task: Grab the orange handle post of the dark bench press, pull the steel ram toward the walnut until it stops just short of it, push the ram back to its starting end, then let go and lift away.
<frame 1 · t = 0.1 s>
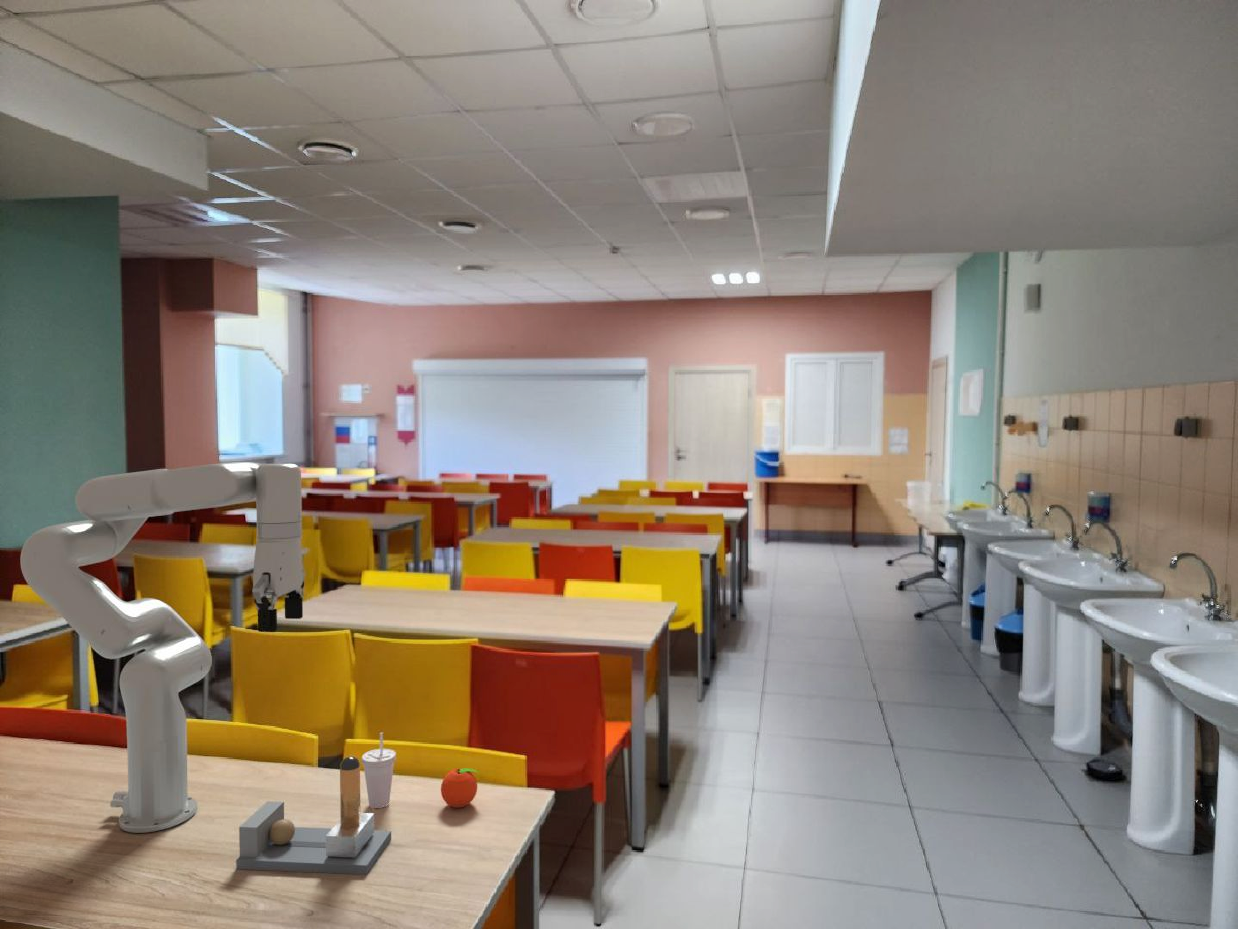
hand: (281, 624, 141), 37 cm above the table, tool pointing down, fingers open, 9 cm apart
smoothie: (379, 805, 150), on the table
clementine: (461, 806, 150), on the table
ram: (350, 800, 131), point 9 cm above the table, slide at 0.0 cm
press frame: (316, 853, 132), on the table
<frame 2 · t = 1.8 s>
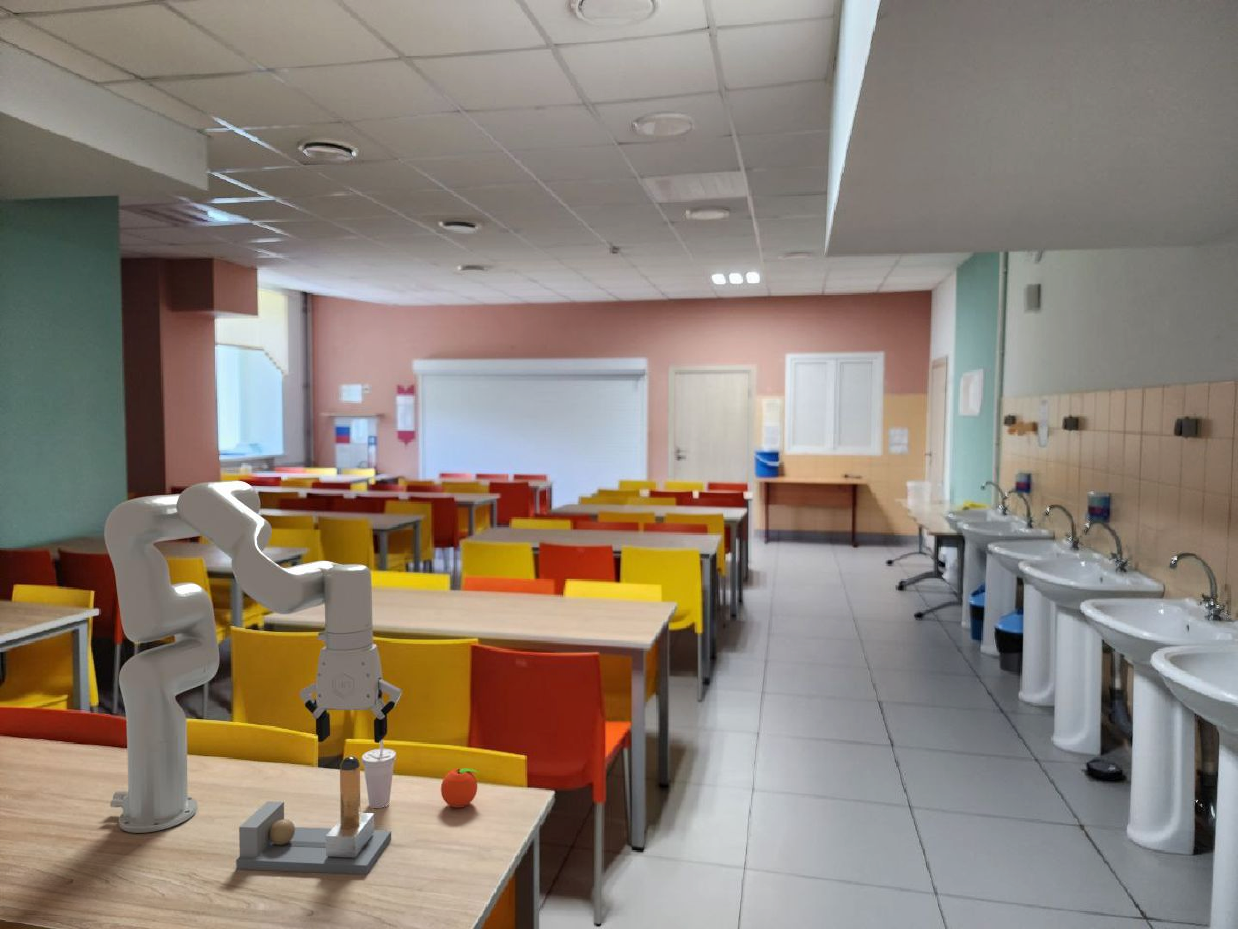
hand: (351, 739, 131), 20 cm above the table, tool pointing down, fingers open, 9 cm apart
nothing on the table moved.
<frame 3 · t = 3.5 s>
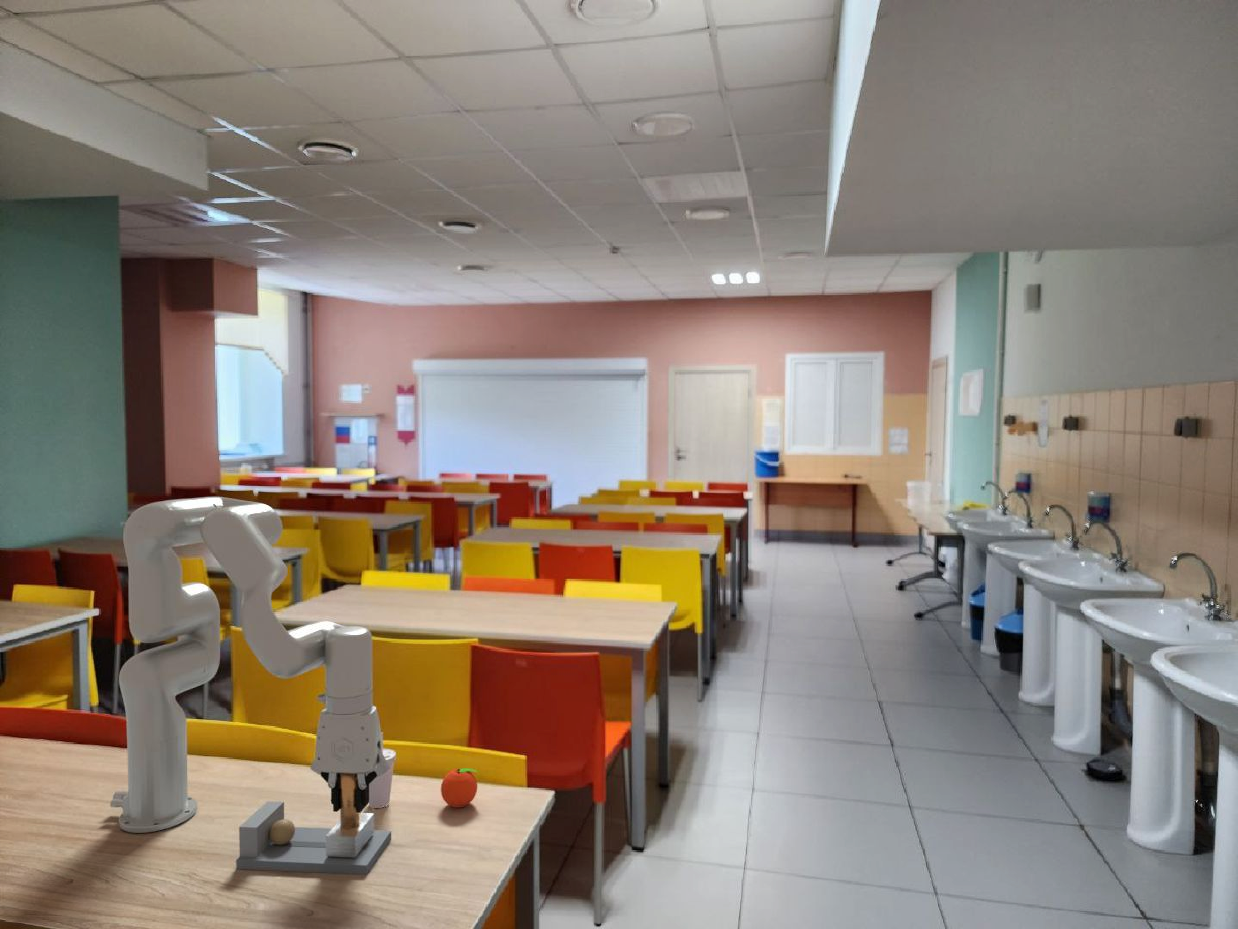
hand: (350, 807, 131), 8 cm above the table, tool pointing down, fingers closed on ram, 3 cm apart
ram: (350, 800, 131), point 9 cm above the table, slide at 0.0 cm, touching gripper
everything else where it was.
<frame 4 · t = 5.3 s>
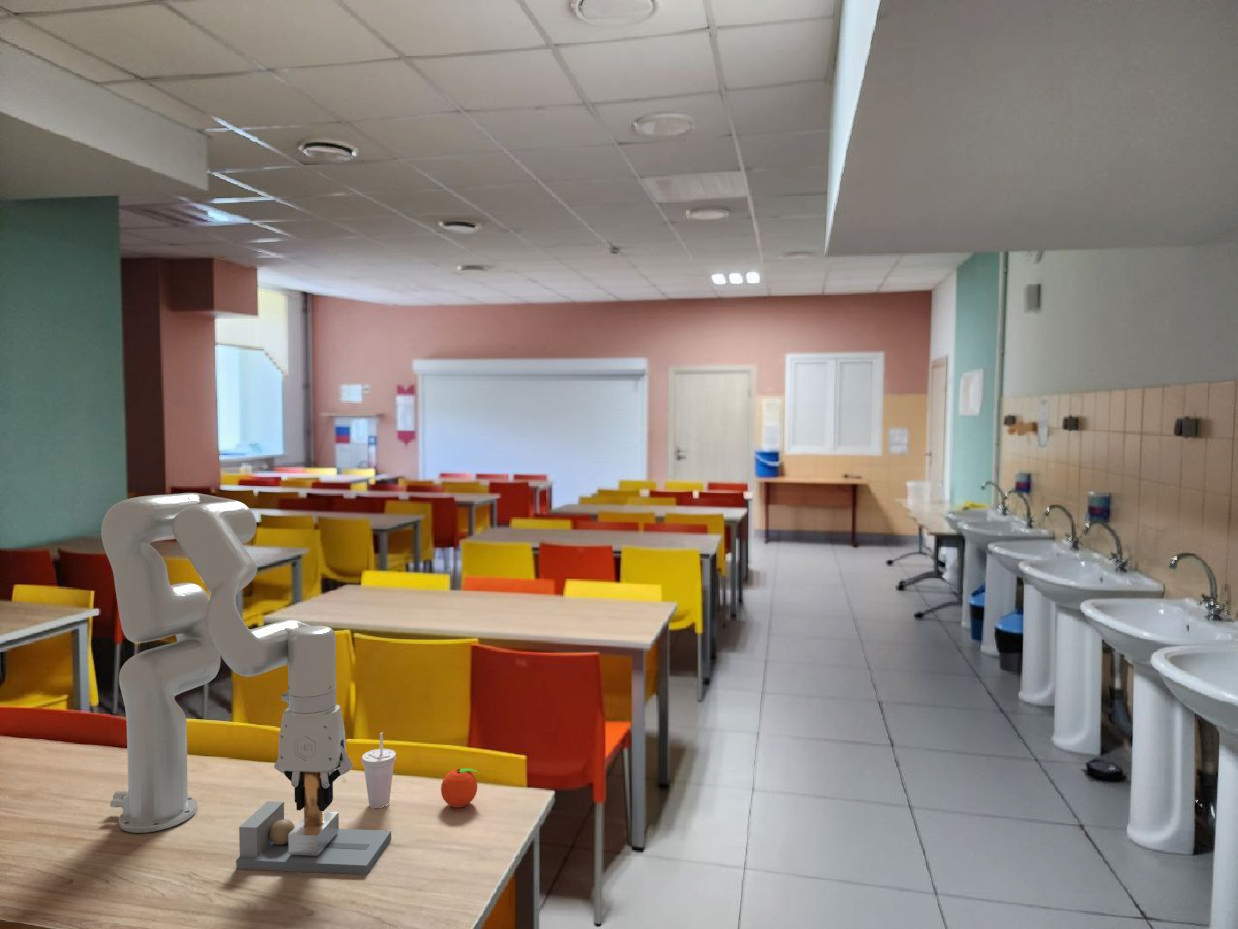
hand: (314, 806, 132), 8 cm above the table, tool pointing down, fingers closed on ram, 3 cm apart
ram: (313, 799, 132), point 9 cm above the table, slide at 6.4 cm, touching gripper
everything else where it was.
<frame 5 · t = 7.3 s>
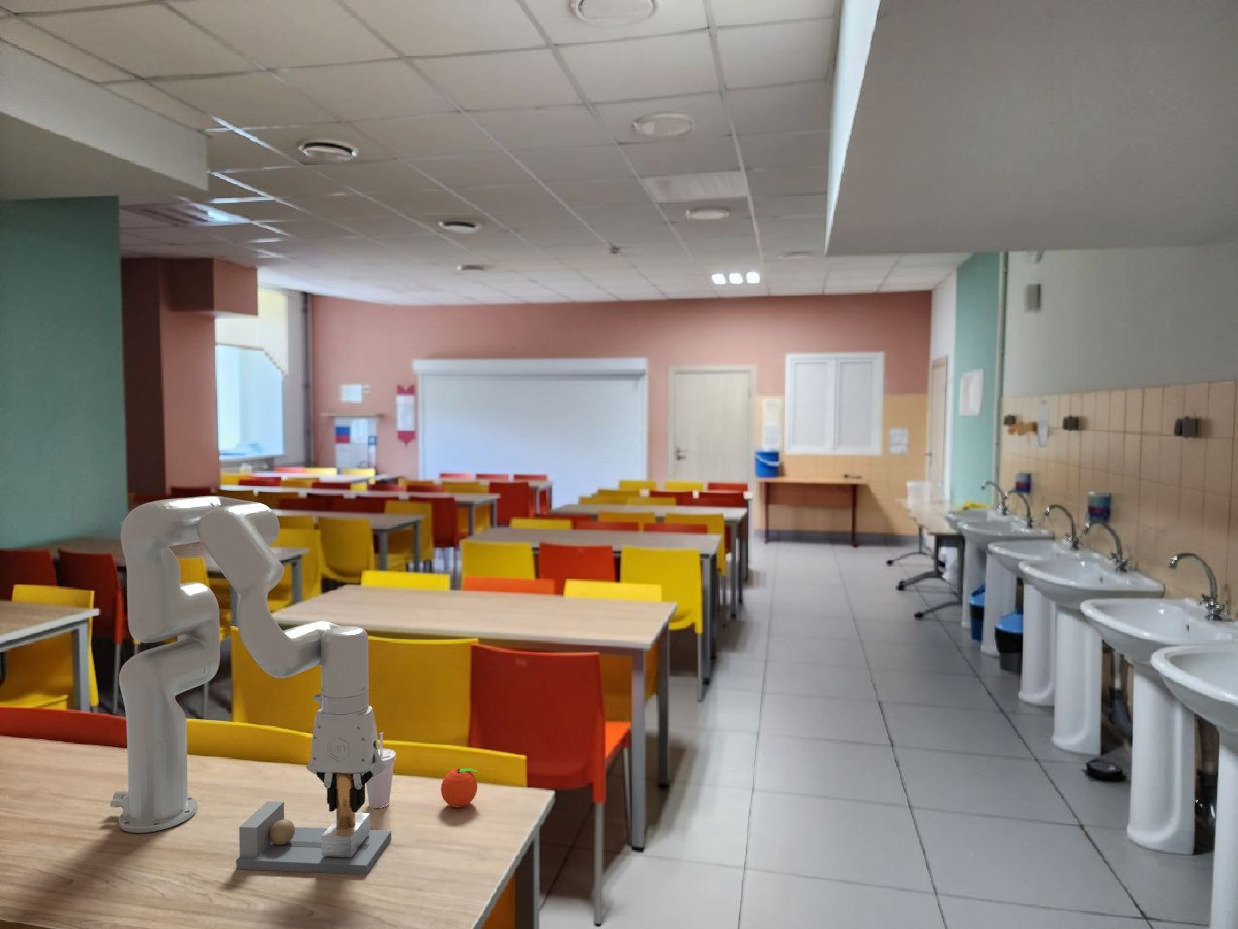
hand: (346, 807, 131), 8 cm above the table, tool pointing down, fingers closed on ram, 3 cm apart
ram: (346, 800, 131), point 9 cm above the table, slide at 0.7 cm, touching gripper
everything else where it was.
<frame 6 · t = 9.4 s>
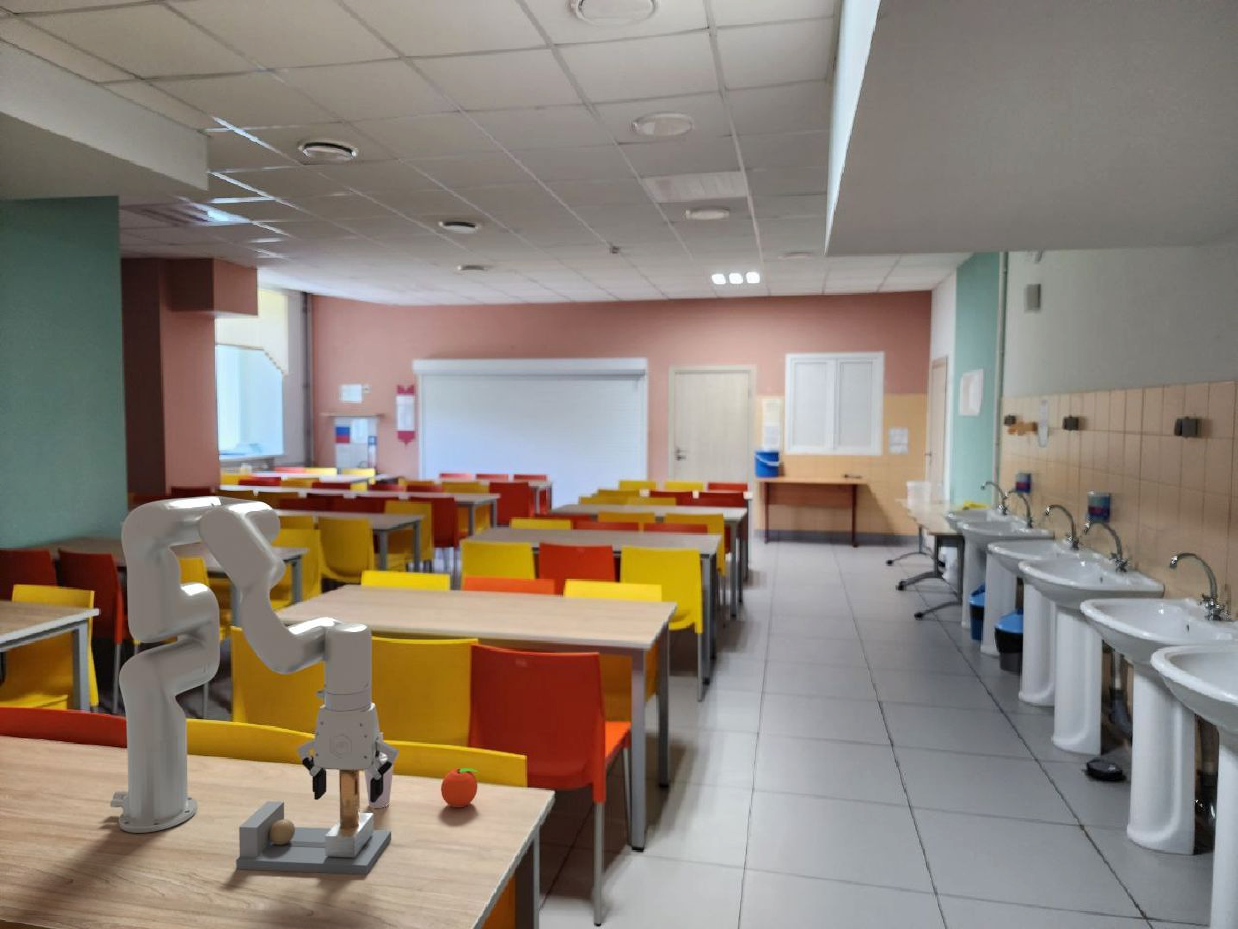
hand: (348, 797, 131), 10 cm above the table, tool pointing down, fingers open, 9 cm apart
ram: (349, 800, 131), point 9 cm above the table, slide at 0.1 cm
everything else where it was.
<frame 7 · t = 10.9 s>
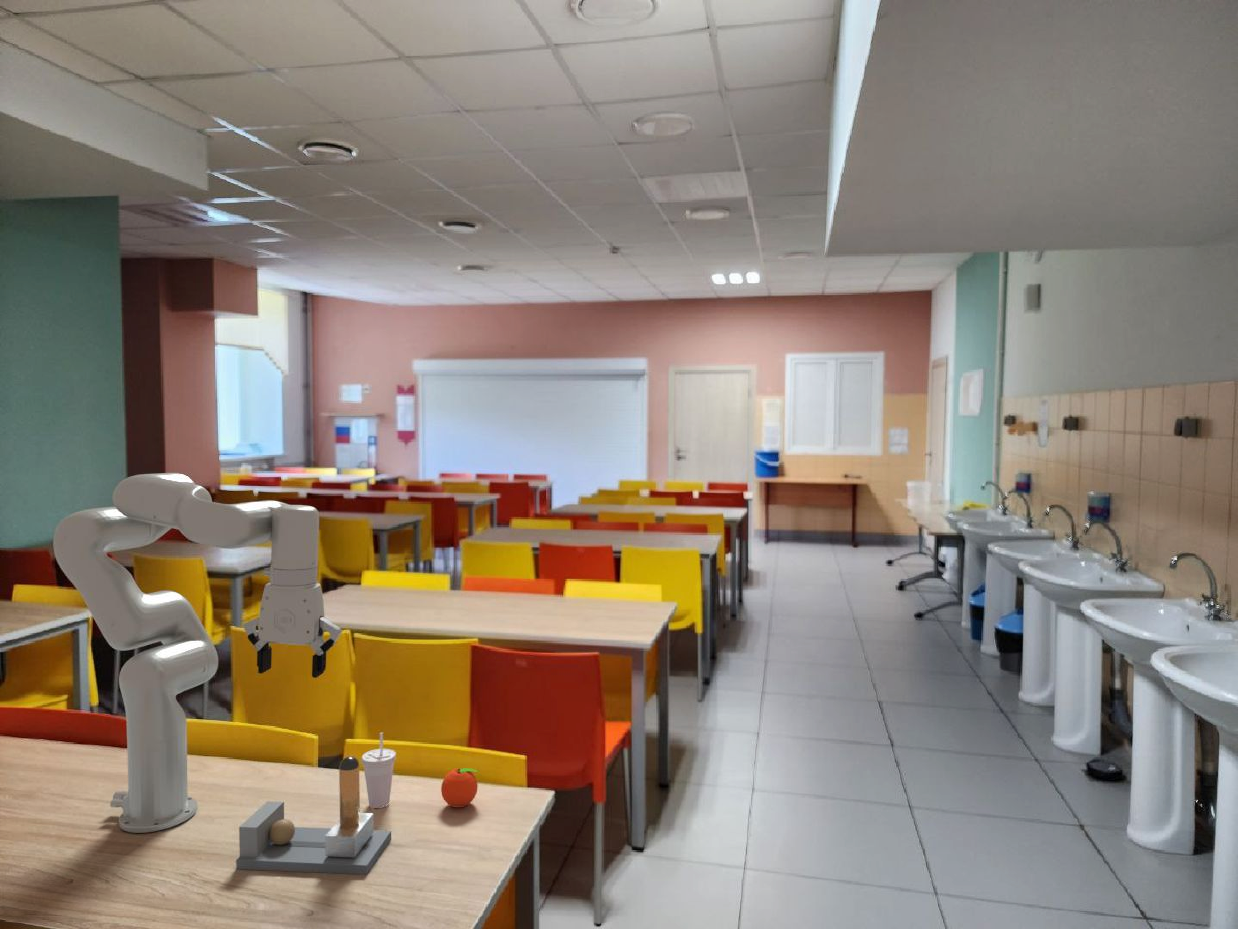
hand: (291, 673, 136), 30 cm above the table, tool pointing down, fingers open, 9 cm apart
nothing on the table moved.
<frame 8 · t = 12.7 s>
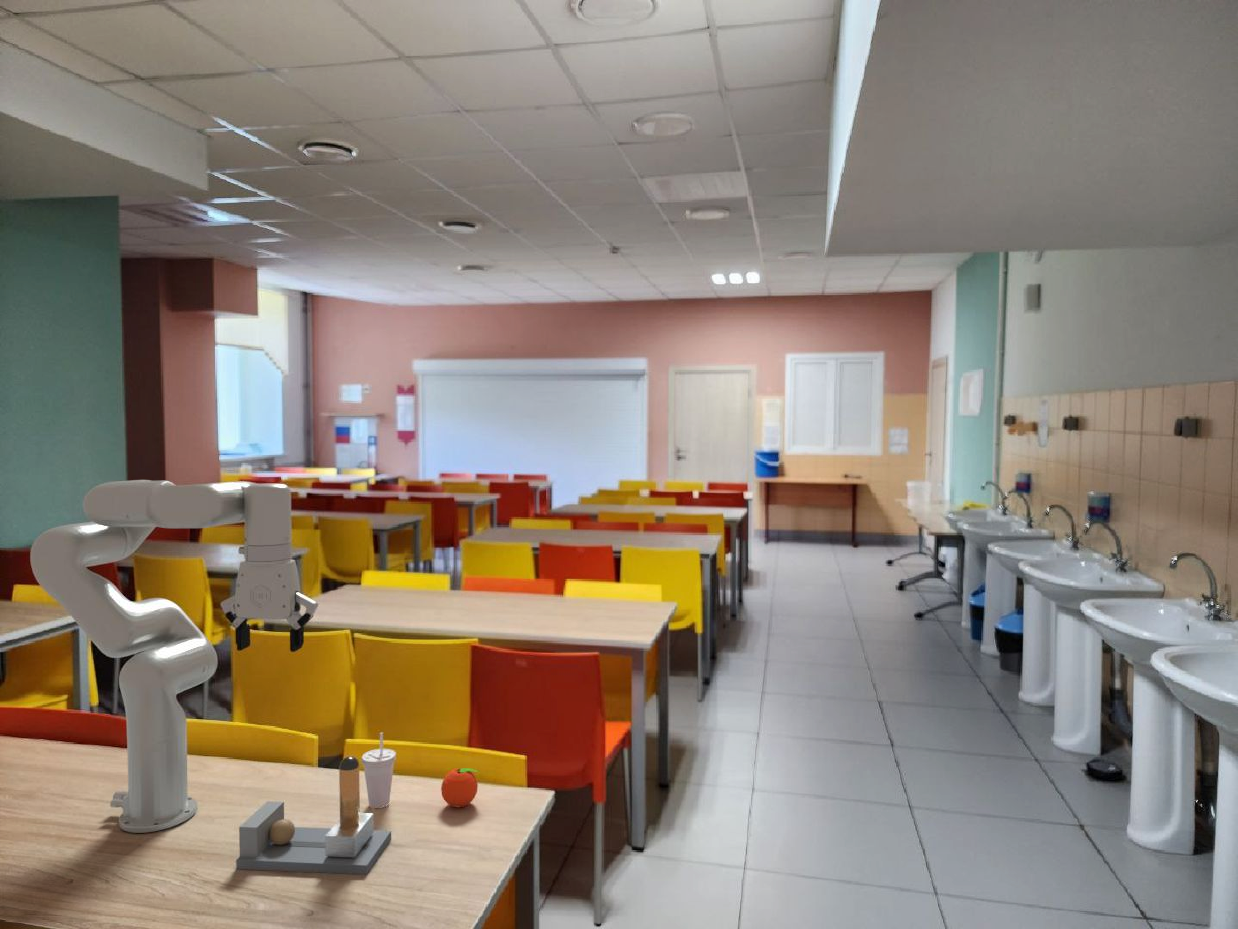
hand: (269, 649, 138), 33 cm above the table, tool pointing down, fingers open, 9 cm apart
nothing on the table moved.
at the end: ram slide at 0.1 cm; the gripper is holding nothing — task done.
